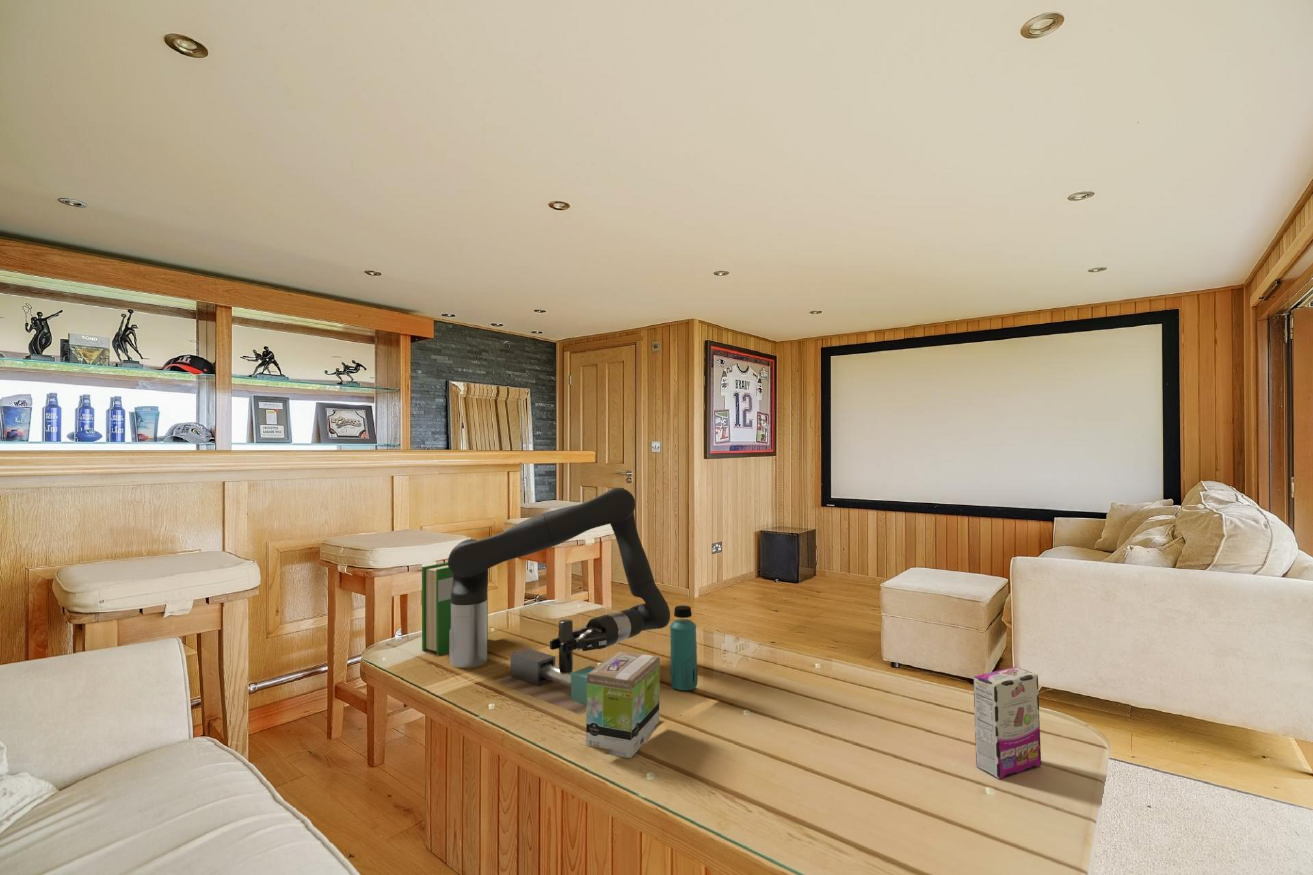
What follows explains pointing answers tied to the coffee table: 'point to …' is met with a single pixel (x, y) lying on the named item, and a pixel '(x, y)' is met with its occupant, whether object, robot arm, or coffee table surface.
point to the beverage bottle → (683, 650)
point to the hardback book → (437, 607)
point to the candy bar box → (1007, 722)
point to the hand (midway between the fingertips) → (556, 646)
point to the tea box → (623, 702)
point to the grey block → (529, 665)
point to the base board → (546, 693)
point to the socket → (580, 685)
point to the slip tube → (561, 658)
